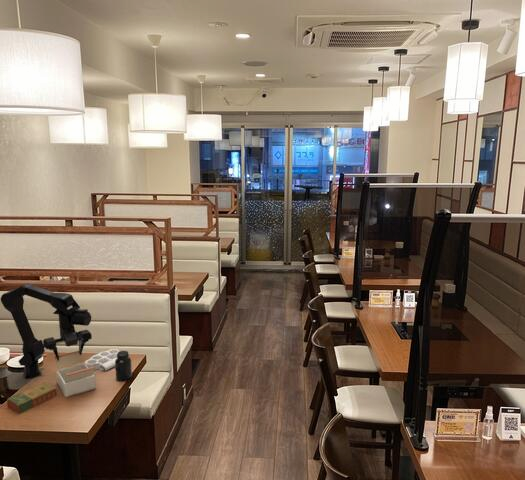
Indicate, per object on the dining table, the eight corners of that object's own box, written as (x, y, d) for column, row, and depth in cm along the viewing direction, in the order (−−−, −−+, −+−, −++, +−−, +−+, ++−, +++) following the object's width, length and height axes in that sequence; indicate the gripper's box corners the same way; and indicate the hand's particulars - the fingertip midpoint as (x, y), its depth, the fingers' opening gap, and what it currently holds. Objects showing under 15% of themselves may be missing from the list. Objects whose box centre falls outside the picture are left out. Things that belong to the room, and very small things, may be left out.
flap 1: (81, 350, 209) (81, 350, 210) (54, 356, 203) (54, 356, 203) (83, 361, 208) (83, 361, 208) (57, 368, 202) (57, 368, 202)
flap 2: (66, 373, 188) (66, 375, 188) (94, 366, 194) (94, 367, 194) (65, 381, 191) (65, 382, 191) (93, 373, 198) (93, 374, 197)
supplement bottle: (112, 380, 206) (110, 354, 204) (122, 373, 212) (121, 348, 210) (125, 383, 204) (123, 357, 201) (135, 376, 210) (133, 351, 207)
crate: (57, 383, 203) (56, 370, 202) (85, 375, 210) (84, 363, 209) (65, 397, 192) (64, 384, 191) (95, 388, 199) (94, 375, 198)
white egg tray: (100, 375, 211) (78, 367, 219) (130, 360, 226) (110, 352, 233) (99, 368, 210) (78, 360, 218) (130, 353, 225) (109, 346, 233)
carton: (57, 396, 194) (56, 387, 193) (19, 415, 181) (17, 405, 180) (45, 390, 198) (44, 381, 197) (7, 408, 185) (6, 398, 184)
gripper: (47, 334, 190) (50, 370, 194) (94, 324, 201) (96, 358, 204) (41, 326, 199) (44, 360, 202) (86, 316, 210) (89, 349, 213)
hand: (69, 357), depth 205 cm, fingers open, 9 cm apart
